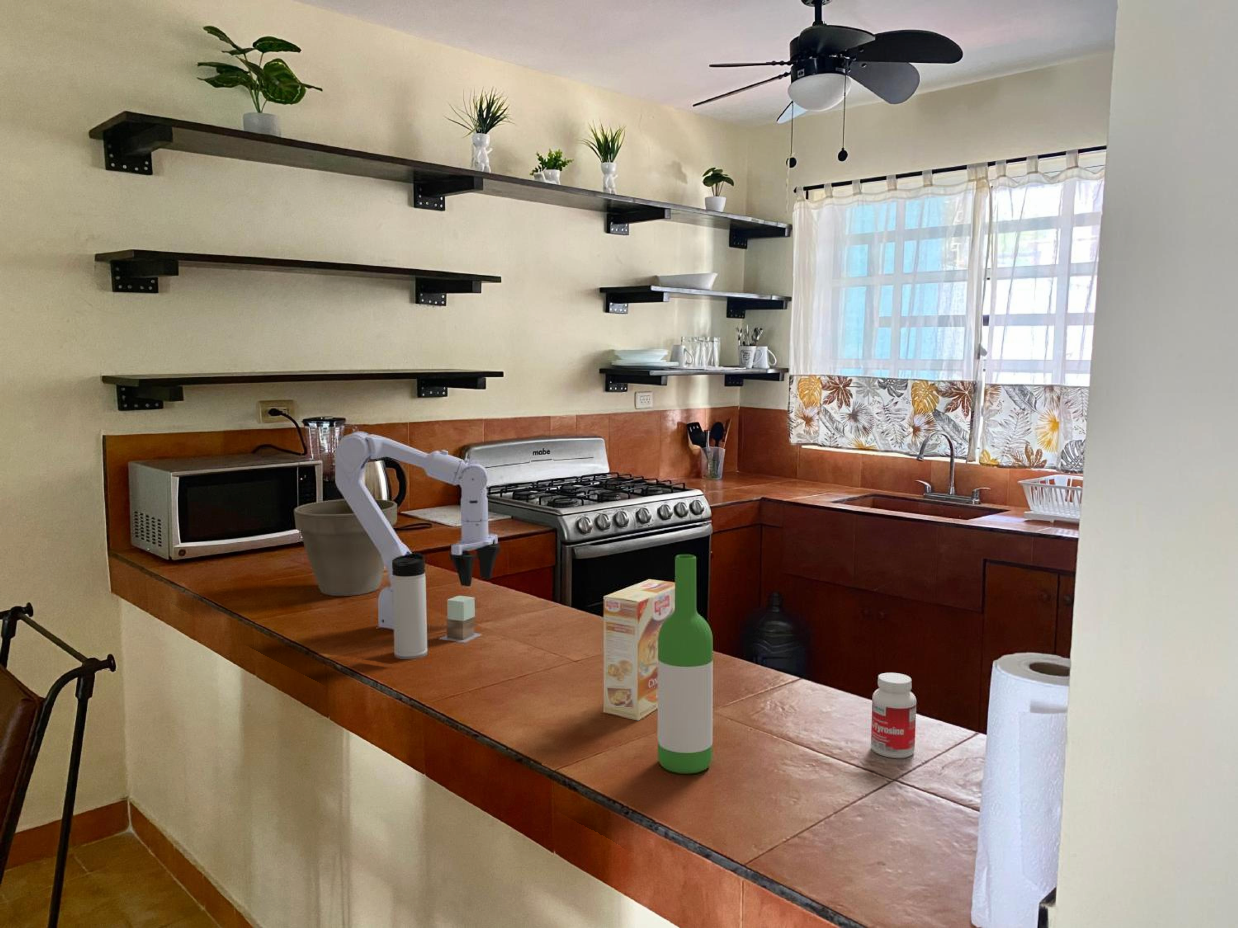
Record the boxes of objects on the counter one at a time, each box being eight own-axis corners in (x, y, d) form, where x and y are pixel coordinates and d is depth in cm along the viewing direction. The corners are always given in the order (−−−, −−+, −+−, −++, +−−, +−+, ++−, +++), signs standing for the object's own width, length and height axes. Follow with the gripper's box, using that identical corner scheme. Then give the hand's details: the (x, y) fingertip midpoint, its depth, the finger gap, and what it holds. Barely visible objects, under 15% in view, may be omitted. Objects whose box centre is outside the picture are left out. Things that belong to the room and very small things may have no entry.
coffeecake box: (639, 721, 149) (638, 601, 147) (601, 712, 152) (600, 595, 150) (683, 693, 161) (683, 582, 159) (647, 686, 165) (647, 577, 163)
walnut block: (447, 637, 192) (446, 618, 192) (458, 632, 196) (457, 614, 196) (463, 640, 191) (462, 620, 190) (474, 634, 194) (473, 616, 194)
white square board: (419, 643, 191) (419, 640, 191) (453, 628, 201) (453, 625, 201) (468, 651, 186) (468, 647, 186) (501, 635, 196) (500, 632, 196)
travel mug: (434, 653, 184) (431, 553, 182) (416, 663, 178) (413, 560, 176) (406, 650, 186) (404, 551, 184) (388, 660, 180) (385, 558, 178)
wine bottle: (708, 752, 136) (710, 550, 133) (716, 775, 129) (717, 561, 126) (655, 753, 136) (655, 550, 133) (659, 776, 128) (659, 562, 125)
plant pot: (322, 607, 220) (319, 516, 218) (281, 589, 238) (278, 504, 236) (417, 590, 236) (415, 505, 234) (372, 574, 255) (369, 495, 253)
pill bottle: (863, 751, 137) (865, 678, 135) (881, 738, 141) (883, 667, 140) (904, 763, 133) (906, 687, 131) (921, 749, 137) (923, 676, 136)
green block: (447, 618, 192) (447, 599, 192) (458, 614, 196) (458, 595, 195) (463, 621, 190) (463, 601, 190) (474, 616, 194) (474, 597, 193)
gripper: (470, 526, 192) (472, 590, 194) (508, 515, 205) (509, 576, 207) (442, 523, 195) (444, 587, 197) (481, 513, 208) (483, 573, 210)
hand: (476, 581), depth 202 cm, fingers open, 7 cm apart
